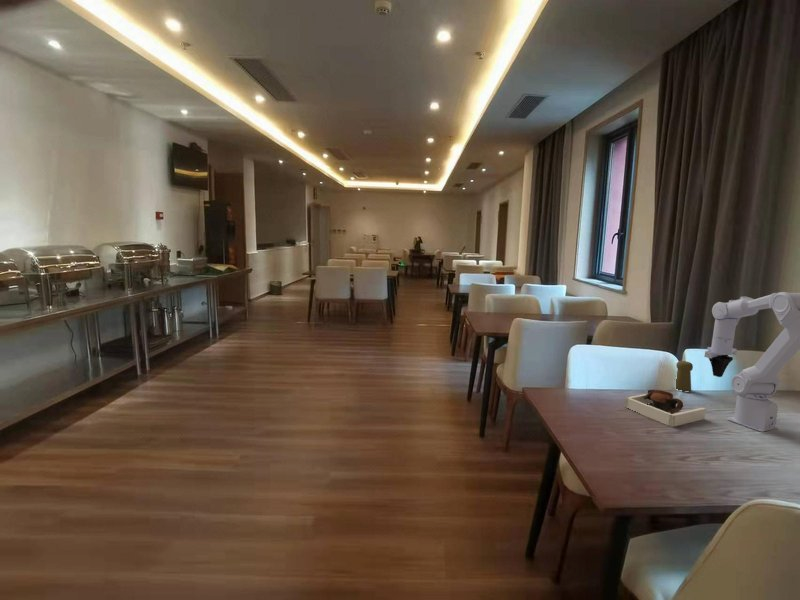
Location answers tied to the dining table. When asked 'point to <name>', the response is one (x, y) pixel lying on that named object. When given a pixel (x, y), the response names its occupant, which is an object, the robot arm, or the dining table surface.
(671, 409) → the pottery mug
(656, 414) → the box
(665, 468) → the dining table surface
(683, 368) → the cork
